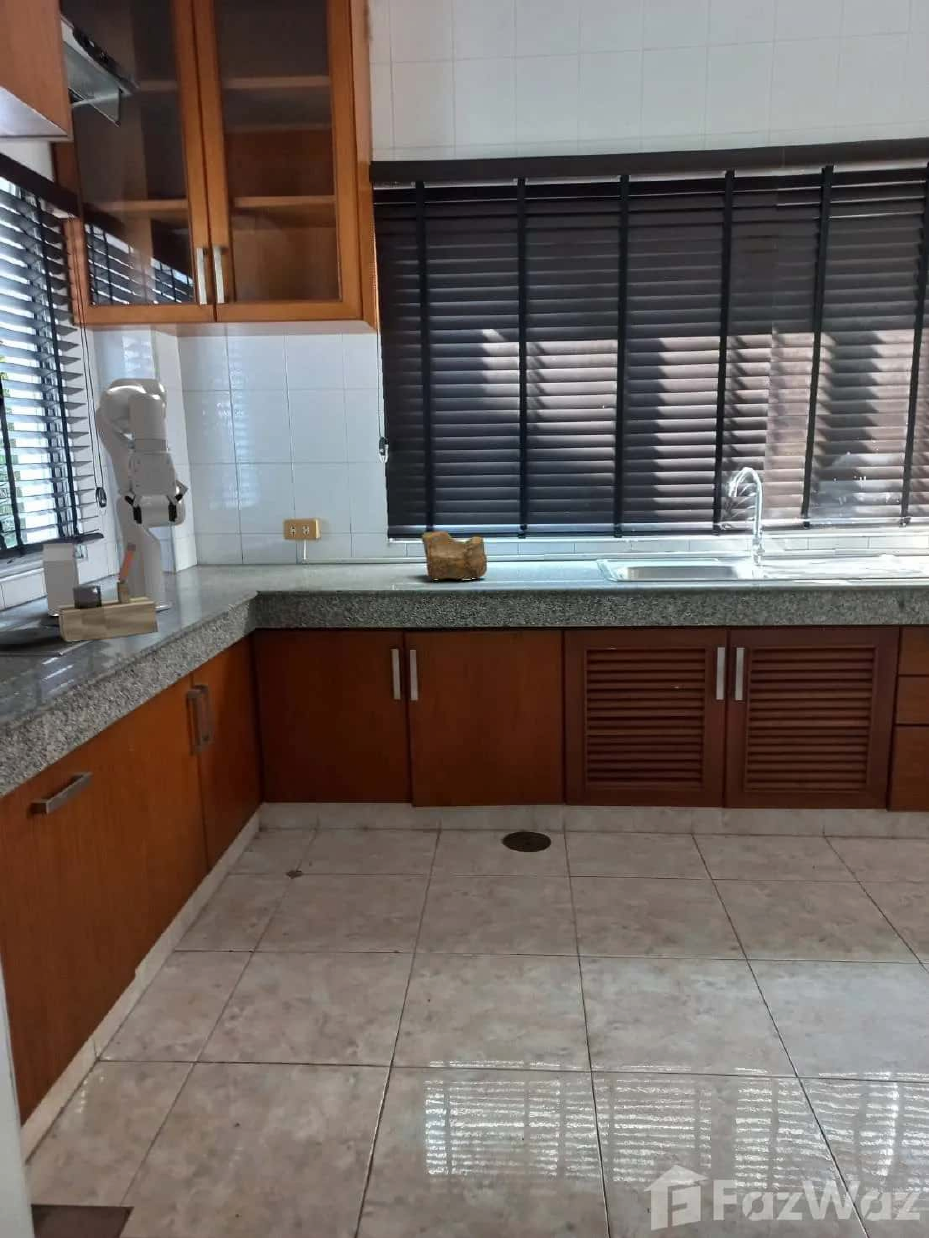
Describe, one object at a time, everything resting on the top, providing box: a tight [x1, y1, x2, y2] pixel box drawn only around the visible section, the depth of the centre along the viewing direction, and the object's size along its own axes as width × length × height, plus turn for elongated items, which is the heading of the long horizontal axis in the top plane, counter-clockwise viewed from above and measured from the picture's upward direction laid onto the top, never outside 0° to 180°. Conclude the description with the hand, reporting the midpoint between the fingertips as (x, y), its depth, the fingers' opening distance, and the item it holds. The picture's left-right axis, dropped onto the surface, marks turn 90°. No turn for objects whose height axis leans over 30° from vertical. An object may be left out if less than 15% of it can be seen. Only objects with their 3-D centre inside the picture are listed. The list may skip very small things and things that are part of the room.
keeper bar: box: [117, 542, 137, 583], centre depth 201 cm, size 5×10×1 cm
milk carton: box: [41, 542, 80, 616], centre depth 223 cm, size 7×7×19 cm
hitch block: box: [58, 581, 159, 643], centre depth 200 cm, size 10×20×12 cm, turn 123°
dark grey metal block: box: [72, 584, 103, 609], centre depth 198 cm, size 6×6×11 cm
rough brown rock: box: [421, 530, 488, 580], centre depth 272 cm, size 23×17×15 cm
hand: (155, 521), depth 203 cm, fingers open, 7 cm apart
